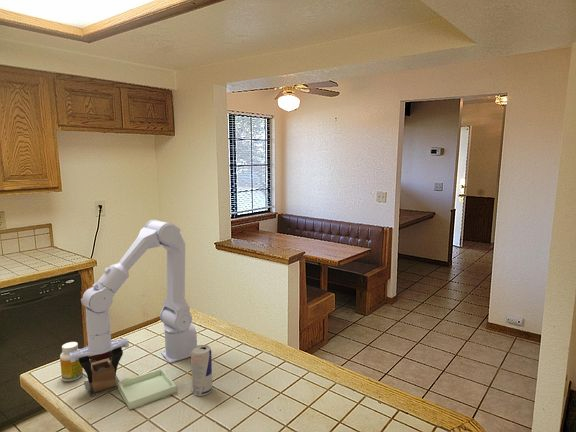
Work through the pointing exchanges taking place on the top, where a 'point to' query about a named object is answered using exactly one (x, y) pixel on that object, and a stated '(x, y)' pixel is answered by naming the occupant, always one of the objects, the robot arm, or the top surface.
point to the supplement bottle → (67, 368)
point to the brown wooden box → (102, 375)
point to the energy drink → (201, 370)
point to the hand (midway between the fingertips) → (102, 377)
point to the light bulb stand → (92, 393)
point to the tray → (146, 388)
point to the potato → (100, 356)
